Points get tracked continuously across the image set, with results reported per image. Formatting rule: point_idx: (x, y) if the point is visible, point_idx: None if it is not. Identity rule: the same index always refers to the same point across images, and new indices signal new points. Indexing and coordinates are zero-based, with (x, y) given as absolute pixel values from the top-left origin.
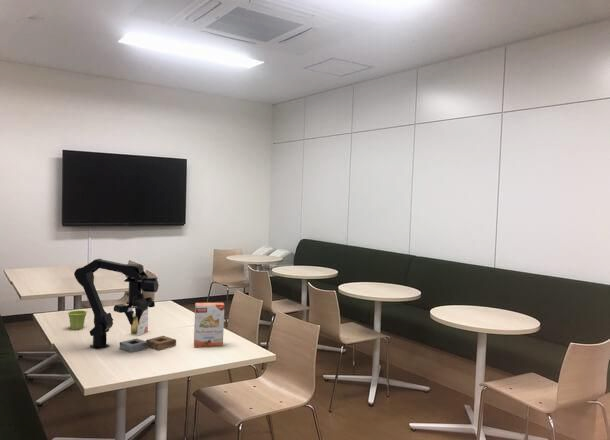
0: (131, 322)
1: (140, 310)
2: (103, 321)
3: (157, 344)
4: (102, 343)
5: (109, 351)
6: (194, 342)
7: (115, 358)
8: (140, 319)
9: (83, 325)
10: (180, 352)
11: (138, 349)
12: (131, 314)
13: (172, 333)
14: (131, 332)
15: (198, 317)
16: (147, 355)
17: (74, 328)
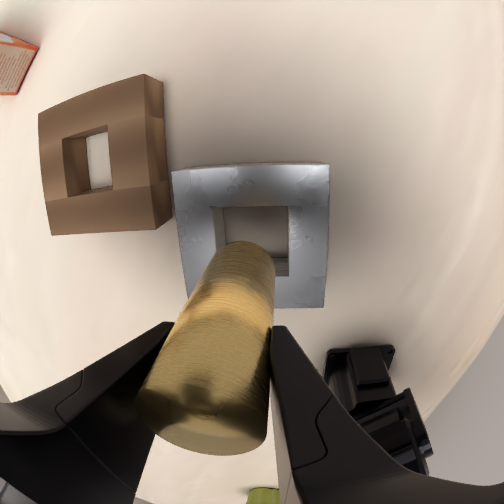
0: (294, 343)
1: (30, 467)
2: (422, 463)
3: (146, 90)
4: (377, 360)
5: (384, 280)
6: (23, 44)
7: (435, 146)
8: None
9: (252, 494)
10: (112, 3)
11: (259, 163)
12: (347, 476)
13: (26, 296)
14: (274, 279)
15: None
16: (272, 43)
17: (278, 492)
